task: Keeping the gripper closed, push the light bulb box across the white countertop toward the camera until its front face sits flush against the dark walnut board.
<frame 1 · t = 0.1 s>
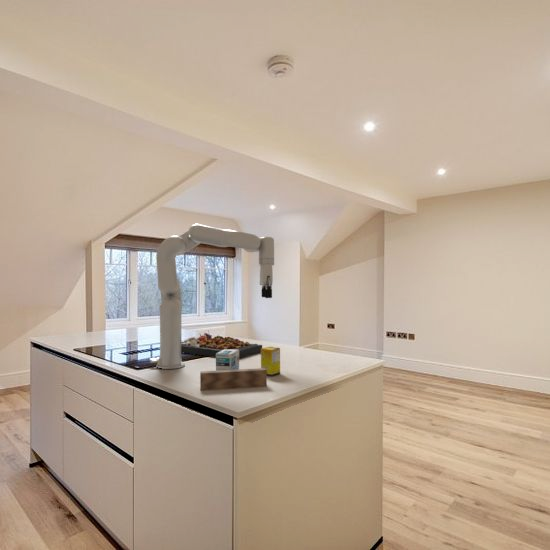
hand: (266, 297, 178), 31 cm above the worktop, fingers open, 9 cm apart
food platter: (216, 353, 205), on the worktop
light bulb box: (227, 378, 148), on the worktop
supplement box: (270, 374, 154), on the worktop
walnut board: (233, 387, 135), on the worktop
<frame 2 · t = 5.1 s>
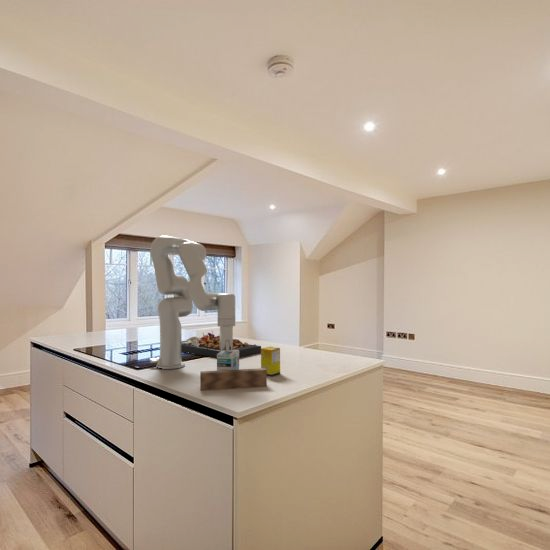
hand: (226, 365, 155), 3 cm above the worktop, fingers closed
light bulb box: (228, 379, 146), on the worktop
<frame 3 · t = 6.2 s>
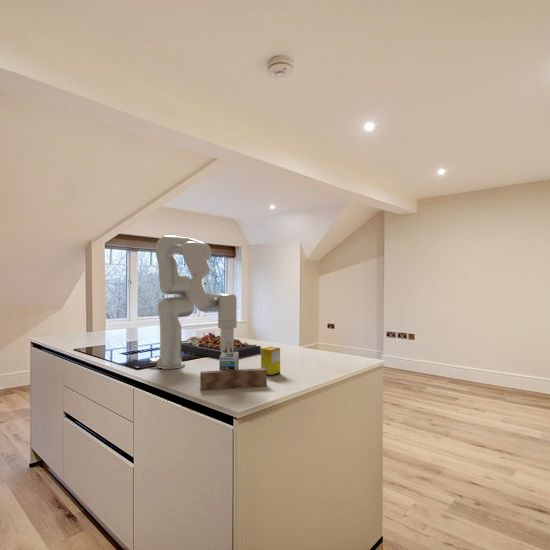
hand: (227, 368, 150), 3 cm above the worktop, fingers closed
light bulb box: (229, 382, 142), on the worktop, touching gripper
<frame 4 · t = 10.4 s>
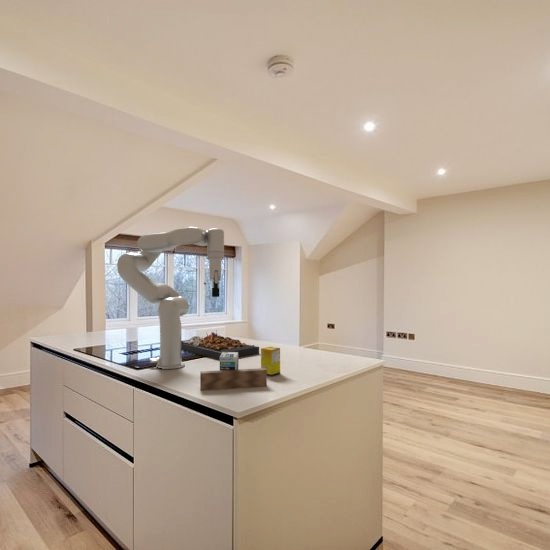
hand: (215, 296, 166), 32 cm above the worktop, fingers closed
light bulb box: (229, 382, 141), on the worktop
at the end: light bulb box inside the target area on the worktop beside the walnut board (0.1 cm from its centre), on the worktop; light bulb box tilted 0° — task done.
